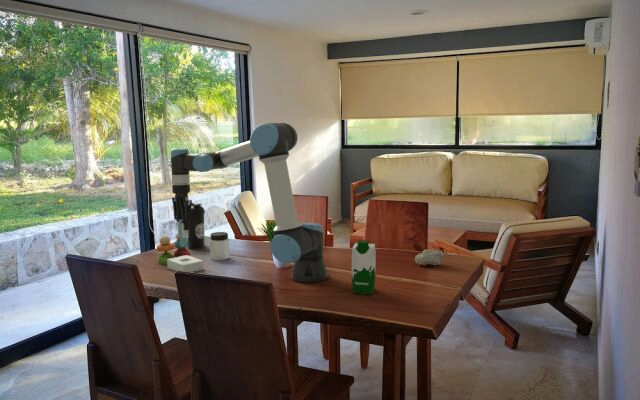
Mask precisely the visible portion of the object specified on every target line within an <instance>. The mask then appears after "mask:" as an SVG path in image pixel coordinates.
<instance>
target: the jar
mask: <svg viewBox="0 0 640 400" xmlns="http://www.w3.org/2000/svg"><path fill="white" fill-rule="evenodd" d="M209 249H210V250H209V251H210V252H209V253H210V259H211V260H213V261H225V260H227V259H229V258H230V239H229V235H228V232H225V231H217V232H212V233H211V232H210V239H209Z"/></svg>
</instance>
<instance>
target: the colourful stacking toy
mask: <svg viewBox="0 0 640 400" xmlns="http://www.w3.org/2000/svg"><path fill="white" fill-rule="evenodd" d="M175 238H176V240H175V241H174V243H172V242H171V238H170V237H169V235H162V236H161V237H160V238H159V244H158V245H157V246H156V252H163V253H161V254H160V256H159V257H158V261H157V263H158V264H160V265H167V259H171V258H175V257H180V256H185V255H188V256H191V257H194V258H195V255H191V253H190V251H189V249H188V245H189V244H188V241H187V246H186V247H180V237H179V236H178V232H177V233H176V234H175ZM174 249H176V250H175V251H174V252H173V254H172V253H171V252H169V251H172V250H174ZM179 255H180V256H179Z"/></svg>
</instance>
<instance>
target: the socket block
mask: <svg viewBox="0 0 640 400" xmlns="http://www.w3.org/2000/svg"><path fill="white" fill-rule="evenodd" d="M191 256H192V255H191ZM191 256H188V255H185V256H176V257H174V258H171V259H167V264H166V266H167V269H169V270H172V271H174V272H177V271H187V272H191V273H195V272H198V271H203V270H205V269H204V267H205V266H204V260H203V259H200V258H197V257H195V256H194V257H191ZM194 271H195V272H194Z"/></svg>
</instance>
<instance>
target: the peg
mask: <svg viewBox="0 0 640 400" xmlns="http://www.w3.org/2000/svg"><path fill="white" fill-rule="evenodd" d="M181 222H183V221H182V219H179V231H180V247H186V246H187V242H188V240H187V237H185V238H182V223H181ZM187 247H188V246H187ZM187 247H186V248H187Z"/></svg>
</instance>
